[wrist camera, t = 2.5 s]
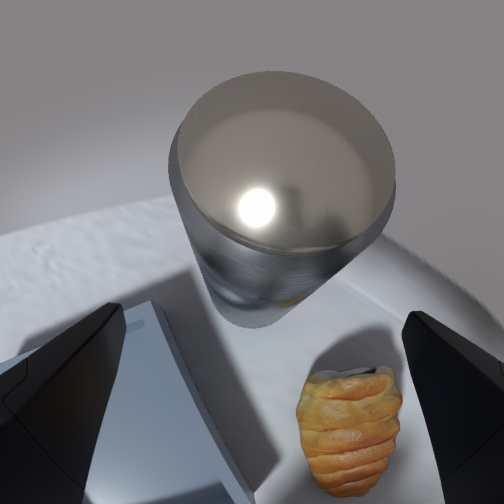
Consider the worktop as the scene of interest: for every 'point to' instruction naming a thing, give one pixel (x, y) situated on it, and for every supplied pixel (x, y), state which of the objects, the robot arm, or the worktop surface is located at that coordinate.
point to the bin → (157, 428)
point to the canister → (278, 189)
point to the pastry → (349, 427)
